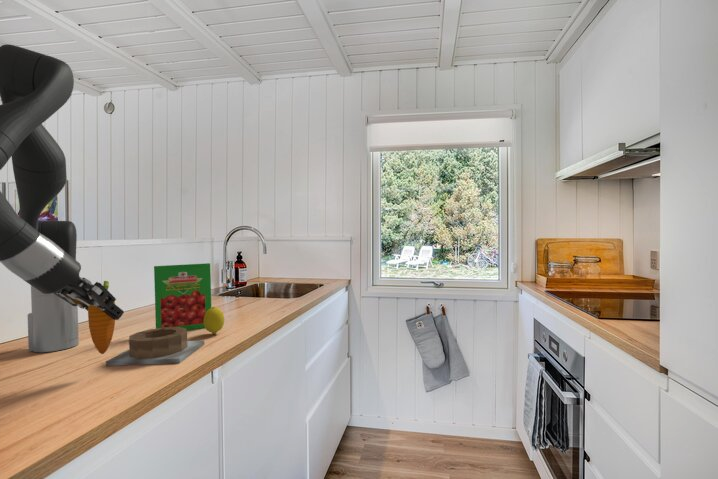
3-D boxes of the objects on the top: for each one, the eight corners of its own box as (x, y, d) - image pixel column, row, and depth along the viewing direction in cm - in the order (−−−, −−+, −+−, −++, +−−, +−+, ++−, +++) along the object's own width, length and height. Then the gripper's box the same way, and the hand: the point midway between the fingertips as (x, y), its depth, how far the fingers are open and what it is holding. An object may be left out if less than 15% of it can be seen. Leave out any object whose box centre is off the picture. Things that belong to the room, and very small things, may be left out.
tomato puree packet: (155, 334, 105) (153, 266, 105) (156, 333, 106) (154, 266, 106) (212, 327, 113) (210, 263, 112) (211, 326, 114) (210, 263, 113)
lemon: (217, 337, 101) (216, 308, 101) (199, 336, 102) (199, 308, 102) (228, 331, 106) (227, 304, 106) (211, 331, 107) (210, 304, 107)
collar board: (106, 365, 79) (105, 343, 79) (141, 346, 93) (141, 327, 93) (179, 363, 80) (179, 340, 80) (204, 344, 94) (203, 325, 94)
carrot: (94, 359, 71) (92, 283, 71) (83, 355, 74) (81, 282, 74) (121, 352, 75) (120, 280, 75) (110, 348, 78) (109, 279, 78)
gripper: (82, 247, 65) (146, 302, 76) (36, 247, 70) (102, 298, 81) (47, 280, 60) (121, 334, 71) (1, 277, 65) (76, 327, 77)
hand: (111, 315), depth 76 cm, fingers closed on carrot, 5 cm apart
